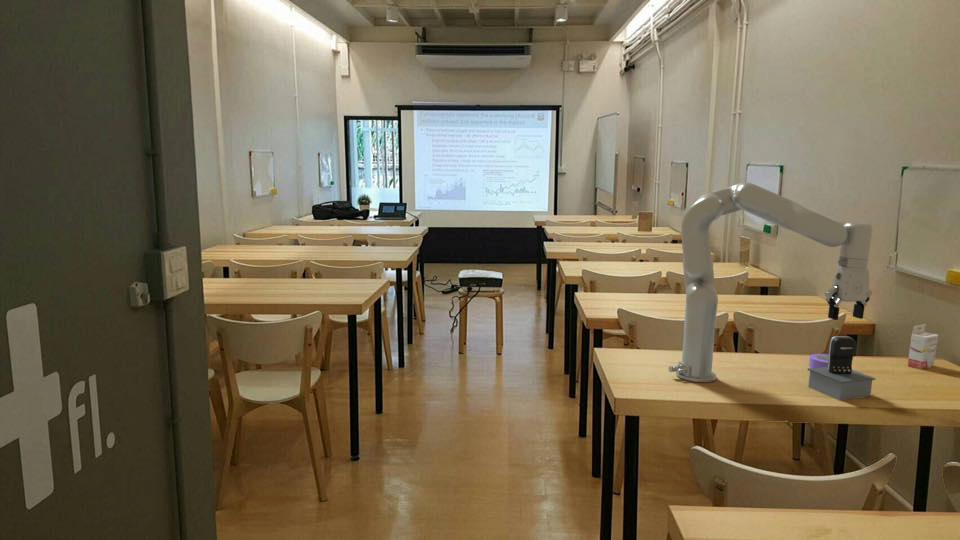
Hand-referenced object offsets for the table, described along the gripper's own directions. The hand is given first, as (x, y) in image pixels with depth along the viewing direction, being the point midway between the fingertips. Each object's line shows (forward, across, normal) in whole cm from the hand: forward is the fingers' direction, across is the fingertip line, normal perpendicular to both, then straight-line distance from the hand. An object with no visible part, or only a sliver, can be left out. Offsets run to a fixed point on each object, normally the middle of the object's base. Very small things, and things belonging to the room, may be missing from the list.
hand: (845, 318), depth 197 cm
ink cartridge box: (+23, +52, +13) cm, 58 cm away
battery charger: (+18, +1, 0) cm, 18 cm away
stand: (+24, +1, -1) cm, 24 cm away
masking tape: (+24, +17, +19) cm, 35 cm away
